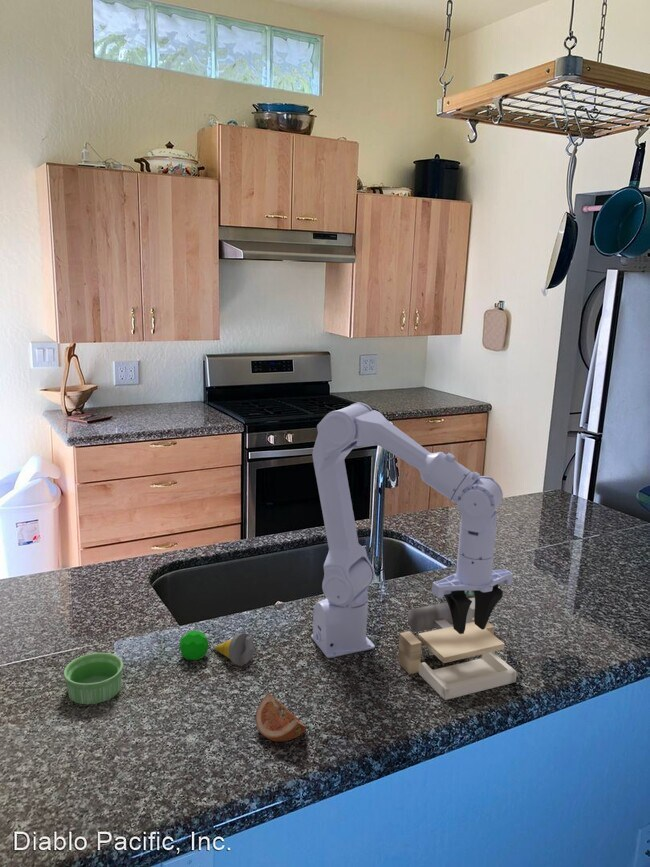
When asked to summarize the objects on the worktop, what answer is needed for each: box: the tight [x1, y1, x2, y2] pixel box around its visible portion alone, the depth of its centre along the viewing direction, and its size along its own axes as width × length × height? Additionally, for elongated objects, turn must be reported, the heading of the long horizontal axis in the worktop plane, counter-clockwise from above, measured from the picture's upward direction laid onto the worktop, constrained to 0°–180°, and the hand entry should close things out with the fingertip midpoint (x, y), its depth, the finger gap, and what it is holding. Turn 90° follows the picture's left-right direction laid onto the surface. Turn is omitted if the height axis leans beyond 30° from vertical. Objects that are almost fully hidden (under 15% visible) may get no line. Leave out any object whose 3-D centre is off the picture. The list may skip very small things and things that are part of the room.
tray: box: [418, 651, 518, 701], centre depth 116 cm, size 14×8×2 cm, turn 113°
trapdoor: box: [407, 601, 506, 664], centre depth 120 cm, size 15×12×4 cm
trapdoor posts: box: [397, 618, 495, 675], centre depth 121 cm, size 4×17×6 cm, turn 113°
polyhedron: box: [178, 630, 210, 661], centre depth 120 cm, size 5×5×5 cm
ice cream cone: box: [213, 632, 257, 667], centre depth 120 cm, size 5×5×10 cm
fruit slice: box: [255, 692, 308, 742], centre depth 100 cm, size 8×7×5 cm
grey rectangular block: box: [466, 598, 490, 623], centre depth 133 cm, size 4×4×5 cm
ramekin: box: [63, 652, 124, 705], centre depth 109 cm, size 9×9×4 cm
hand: (469, 628), depth 114 cm, fingers open, 4 cm apart
